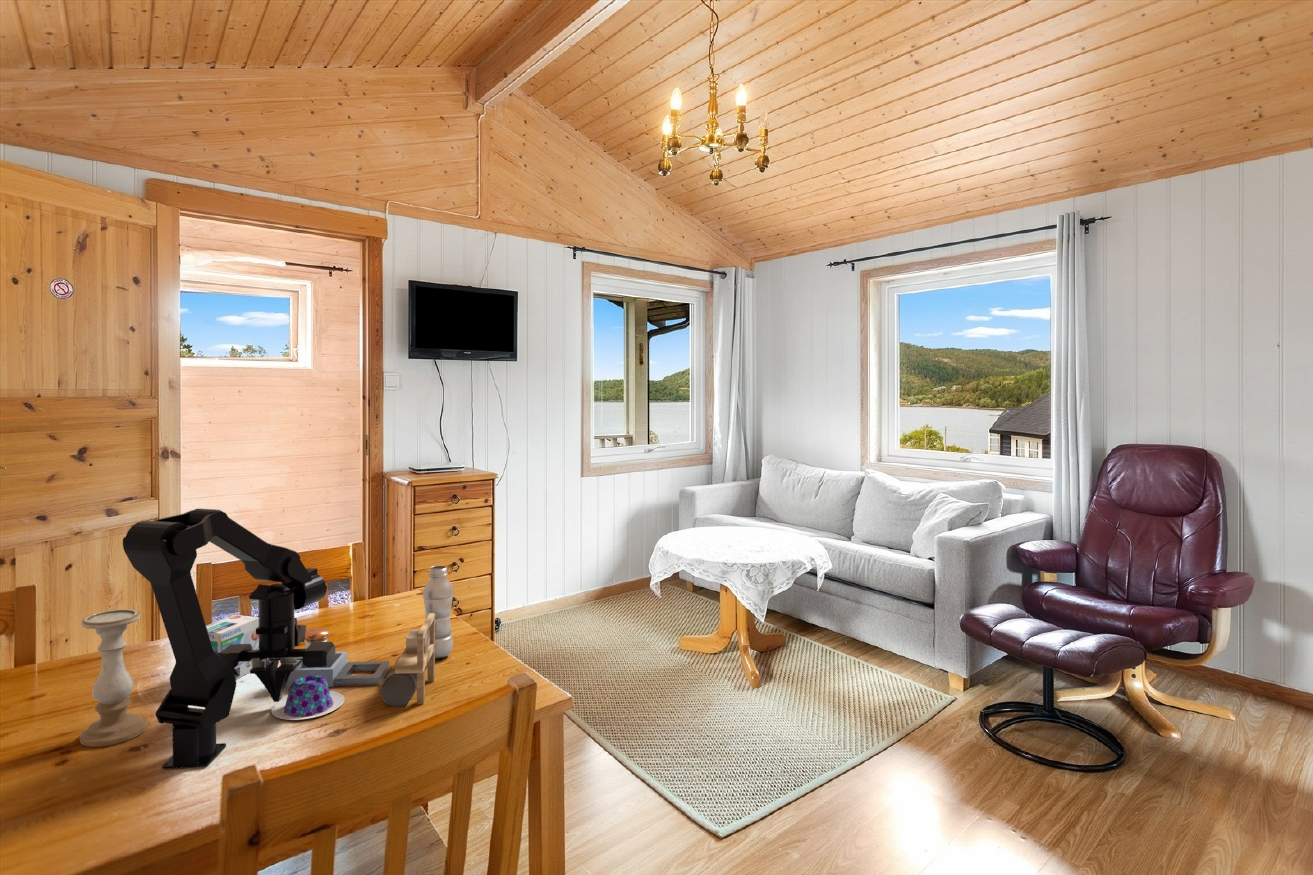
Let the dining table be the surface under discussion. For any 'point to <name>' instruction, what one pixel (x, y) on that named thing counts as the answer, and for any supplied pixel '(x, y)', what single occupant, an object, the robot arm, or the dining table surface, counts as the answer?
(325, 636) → the grey brown-topped cylinder
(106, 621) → the candle holder
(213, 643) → the light bulb box
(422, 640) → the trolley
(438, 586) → the plastic bottle
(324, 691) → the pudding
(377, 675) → the collar
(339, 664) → the tray
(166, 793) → the dining table surface
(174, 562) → the robot arm
